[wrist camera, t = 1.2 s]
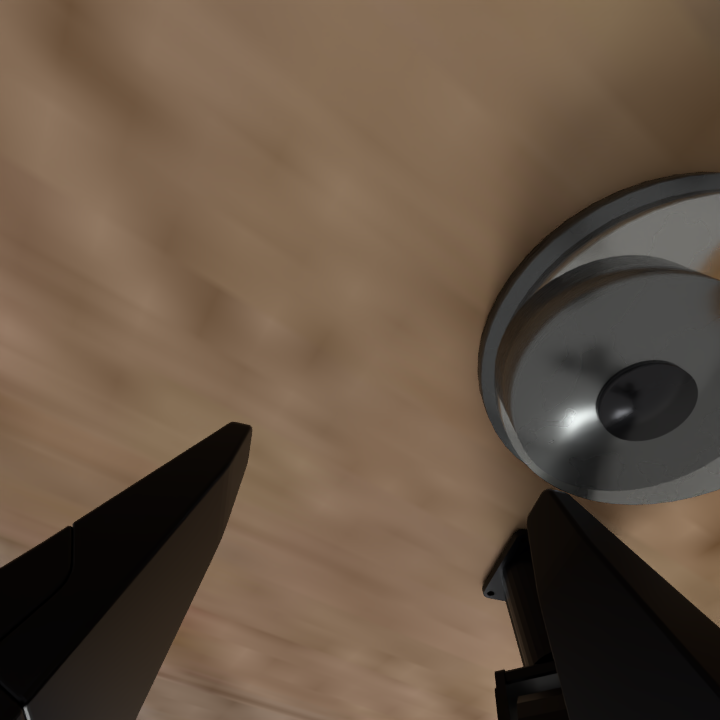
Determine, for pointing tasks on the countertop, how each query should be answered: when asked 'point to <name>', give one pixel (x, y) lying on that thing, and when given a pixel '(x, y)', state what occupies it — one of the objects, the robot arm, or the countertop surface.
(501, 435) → the turntable base
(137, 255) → the countertop surface
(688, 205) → the platter
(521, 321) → the cover
